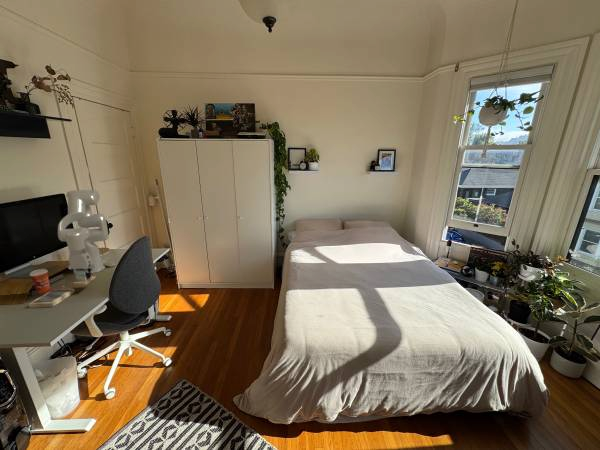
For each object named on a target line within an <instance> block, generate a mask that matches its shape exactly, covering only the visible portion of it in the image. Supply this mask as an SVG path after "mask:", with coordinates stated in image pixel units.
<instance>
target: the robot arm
mask: <svg viewBox="0 0 600 450" xmlns="http://www.w3.org/2000/svg"><path fill="white" fill-rule="evenodd" d="M65 195H66V198H67V215H65V216H63V218H61V220H60V221H59V223H58V225H57V237H58V240H59V241H61V242H66V244H67V247H68V252H69V255H68V261H69V262H68V263H69V265H68V267H67V269H69V270H70V271H72V272H73V274H75V271H76V270H77V269H84V270H85V271H86V278H87V279H89V278H90V277H91V276H92V274H95V273H99V272H101V270H102V271H103V269H104V268H106V266H105V264H104V263H106V260H102V258H101V253H100V249H99V245H97V244H96V242H98V243H99V242H105V241H108V239H109V229H108V224H107V223H108V222H107V218H106V216H105V215H104V214H102V213H93V212H92V208H91V206H96V205H98V203H99V201H100V197H101V196H100V193H99V191H98V190H97V189H78V190H77V189H75V190H74V189H73V190H69V191H66V194H65ZM74 222H77V225H78V227H77V228H67V227H68V226H69V225H70V224H72V223H74ZM89 228H90V229H89ZM103 264H104V265H103ZM87 269H88V270H87ZM104 270H105V269H104Z"/></svg>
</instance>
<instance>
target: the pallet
mask: <svg viewBox="0 0 600 450" xmlns="http://www.w3.org/2000/svg"><path fill="white" fill-rule="evenodd" d="M87 270H88V269H87ZM74 275H75V278H76V280H75V281H74V282H72V284H73V286H86V285H88V284H89V283H90V282H92V281H93V280H94V279H96V275H91V277H90V278H89V279H87V278H86V271H85V270H84V269H77V270H76V271H75V273H74Z"/></svg>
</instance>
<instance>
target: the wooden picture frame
mask: <svg viewBox="0 0 600 450" xmlns="http://www.w3.org/2000/svg"><path fill="white" fill-rule="evenodd" d="M75 292H76V291H75V288H64V289H63V288H58V289H57V288H56V289H50V291H48V292H46V293H44V294H43V295H41V296H39V297H38V298H36V299H35V300H33V301H30V303H28V308H33V309H34V308H49V307H50V308H51V307H52V308H53V307H54V306H56V305H57V304H60V303H61V302H62V301H64V300H65V299H67V298H68V297H70V296H71V295H73V294H74V293H75Z"/></svg>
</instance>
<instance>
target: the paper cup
mask: <svg viewBox="0 0 600 450" xmlns="http://www.w3.org/2000/svg"><path fill="white" fill-rule="evenodd" d="M48 272H49V271H48V269H46V268H39V269H35V270H32V271H31V272H30V273H29V276H30V277H31V280H32V283H33V282H35V284H34V283H33V285H34V289H35V290H36V293H37V294H39V295H41V294H46V293H48V292H50V291H51V286H50V285H51V284H50V280H49V275H48Z"/></svg>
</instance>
